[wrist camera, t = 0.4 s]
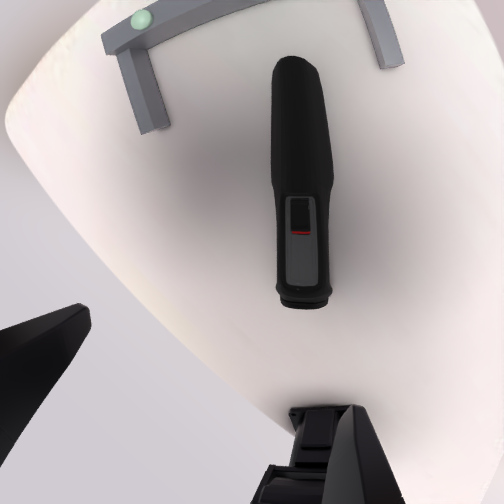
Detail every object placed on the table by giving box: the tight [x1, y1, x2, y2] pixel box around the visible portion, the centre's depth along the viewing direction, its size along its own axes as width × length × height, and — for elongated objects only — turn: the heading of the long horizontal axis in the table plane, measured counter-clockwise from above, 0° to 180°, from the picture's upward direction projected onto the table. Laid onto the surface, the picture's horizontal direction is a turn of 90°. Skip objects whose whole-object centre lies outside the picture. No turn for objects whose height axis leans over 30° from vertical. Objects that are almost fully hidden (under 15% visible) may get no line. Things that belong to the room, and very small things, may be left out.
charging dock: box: [101, 0, 405, 135], centre depth 14 cm, size 7×15×3 cm, turn 107°
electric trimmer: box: [271, 56, 334, 310], centre depth 18 cm, size 4×16×3 cm, turn 5°
